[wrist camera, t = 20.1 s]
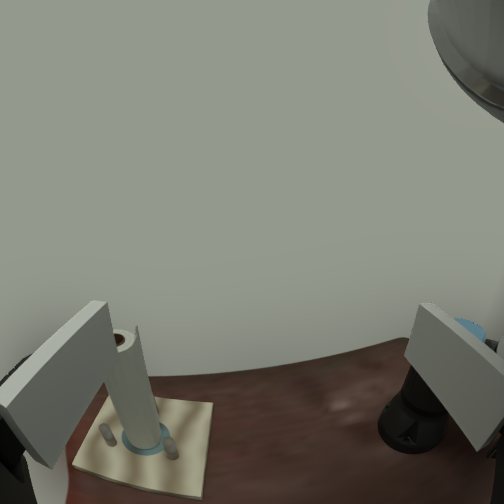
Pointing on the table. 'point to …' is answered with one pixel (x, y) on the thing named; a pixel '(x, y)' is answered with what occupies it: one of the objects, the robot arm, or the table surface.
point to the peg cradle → (152, 450)
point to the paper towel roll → (133, 392)
